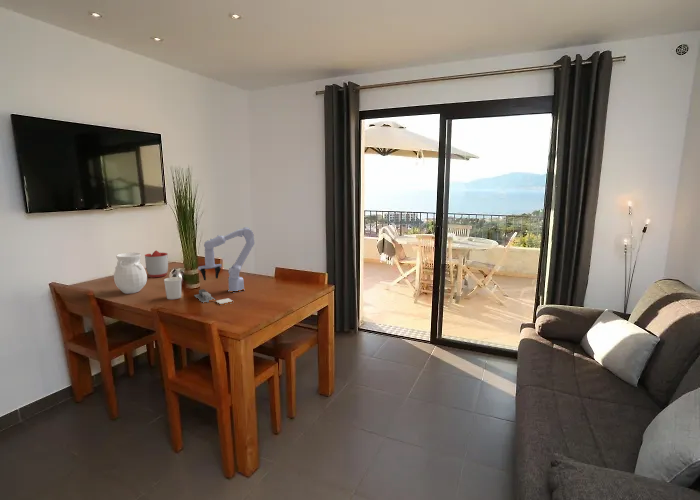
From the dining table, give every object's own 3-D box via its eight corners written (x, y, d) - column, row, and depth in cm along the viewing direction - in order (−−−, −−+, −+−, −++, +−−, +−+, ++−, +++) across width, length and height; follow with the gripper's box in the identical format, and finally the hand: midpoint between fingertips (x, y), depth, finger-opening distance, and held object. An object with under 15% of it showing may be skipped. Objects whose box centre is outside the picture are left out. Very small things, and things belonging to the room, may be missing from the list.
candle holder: (163, 300, 223) (162, 281, 221) (167, 295, 232) (165, 277, 230) (181, 299, 226) (179, 280, 223) (183, 294, 235) (182, 276, 233)
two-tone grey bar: (203, 294, 234) (203, 289, 234) (211, 300, 223) (210, 294, 223) (199, 295, 232) (198, 289, 232) (206, 300, 222) (205, 295, 221)
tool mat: (206, 293, 237) (206, 292, 237) (216, 300, 224) (216, 300, 224) (194, 295, 233) (194, 295, 232) (202, 303, 219) (202, 302, 219)
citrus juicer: (165, 272, 291) (164, 247, 288) (171, 276, 278) (169, 251, 275) (144, 274, 281) (141, 249, 278) (148, 279, 268) (146, 253, 265)
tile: (228, 298, 226) (233, 301, 221) (228, 300, 226) (233, 303, 221) (215, 300, 221) (220, 303, 216) (216, 303, 221) (220, 306, 216)
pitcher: (133, 296, 229) (129, 258, 224) (108, 294, 232) (104, 256, 228) (154, 288, 247) (151, 252, 242) (131, 286, 250) (127, 251, 246)
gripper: (218, 256, 243) (219, 276, 245) (196, 259, 234) (197, 279, 236) (222, 258, 237) (223, 278, 240) (199, 261, 228) (200, 281, 231)
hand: (210, 279), depth 238 cm, fingers open, 7 cm apart
